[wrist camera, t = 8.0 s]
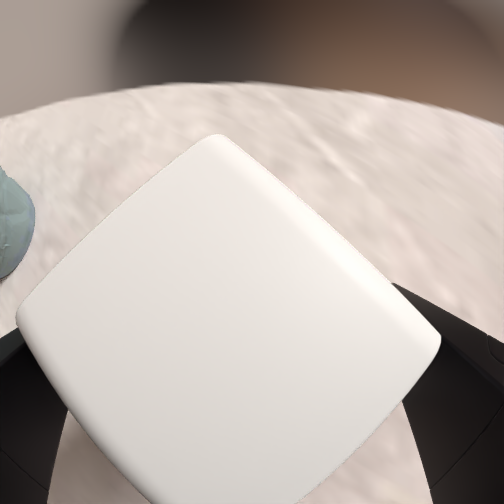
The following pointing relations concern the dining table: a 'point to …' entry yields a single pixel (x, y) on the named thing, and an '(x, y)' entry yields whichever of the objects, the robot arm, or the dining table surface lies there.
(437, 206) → the dining table surface
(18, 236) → the green plant pot
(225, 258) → the security camera
